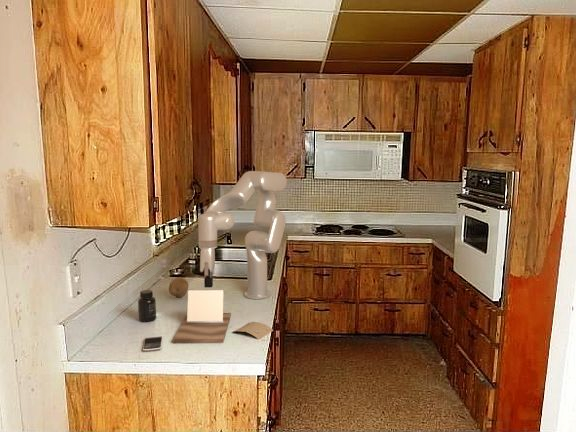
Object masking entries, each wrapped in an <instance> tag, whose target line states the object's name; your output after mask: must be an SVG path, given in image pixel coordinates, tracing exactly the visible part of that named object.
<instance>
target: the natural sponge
mask: <svg viewBox="0 0 576 432" xmlns="http://www.w3.org/2000/svg"><path fill="white" fill-rule="evenodd" d="M188 290H189V283H188V281H187V280H186V279H185V278H183V277H176V278H174V279H173V280H171V282H170V283H169V286H168V292H169V294H170V295H171V296H174V297H175V298H177V299H182V298H184V297H185V295H186V294H188Z"/></svg>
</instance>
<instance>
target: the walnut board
mask: <svg viewBox="0 0 576 432" xmlns="http://www.w3.org/2000/svg"><path fill="white" fill-rule="evenodd" d="M231 318H232V313H231V312H223V323H187V315H185V318H184V320H183V321H182V324H181V325H180V327H179V328H178V330H177V332H176V333H175V336H174V337H173V340H172V343H173V344H224V342H225V338H226V334H227V331H228V328H229V325H230V321H231Z"/></svg>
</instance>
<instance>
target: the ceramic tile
mask: <svg viewBox="0 0 576 432" xmlns="http://www.w3.org/2000/svg"><path fill="white" fill-rule="evenodd" d="M224 294H225V293H224V290H223V289H220V290H218V289H213V290H212V289H211V290H209V289H207V290H206V289H205V290H199V289H198V290H197V289H196V290H195V289H194V290H191V289H190V290H189V289H188V290H187V310H186V311H187V314H186V316H187V323H223V313H224V301H225V300H224V299H225V298H224Z"/></svg>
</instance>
